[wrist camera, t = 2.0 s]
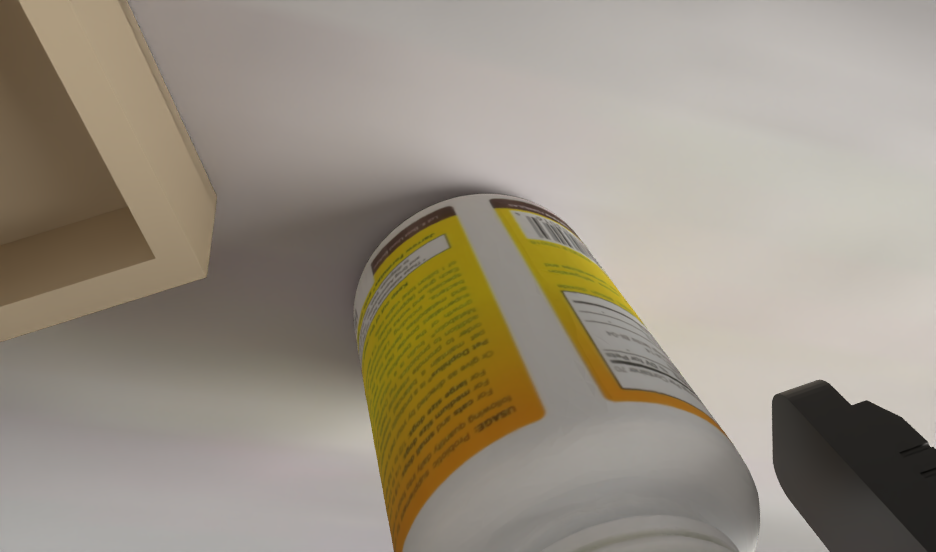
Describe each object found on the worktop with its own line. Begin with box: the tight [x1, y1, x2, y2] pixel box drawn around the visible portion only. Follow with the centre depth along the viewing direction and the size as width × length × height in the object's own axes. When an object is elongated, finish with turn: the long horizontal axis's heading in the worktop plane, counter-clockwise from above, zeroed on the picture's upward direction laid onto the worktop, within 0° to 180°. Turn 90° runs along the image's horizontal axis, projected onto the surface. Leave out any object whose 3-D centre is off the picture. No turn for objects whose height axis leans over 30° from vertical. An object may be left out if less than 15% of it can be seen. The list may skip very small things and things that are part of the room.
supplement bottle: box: [354, 194, 760, 552], centre depth 14 cm, size 6×6×10 cm
